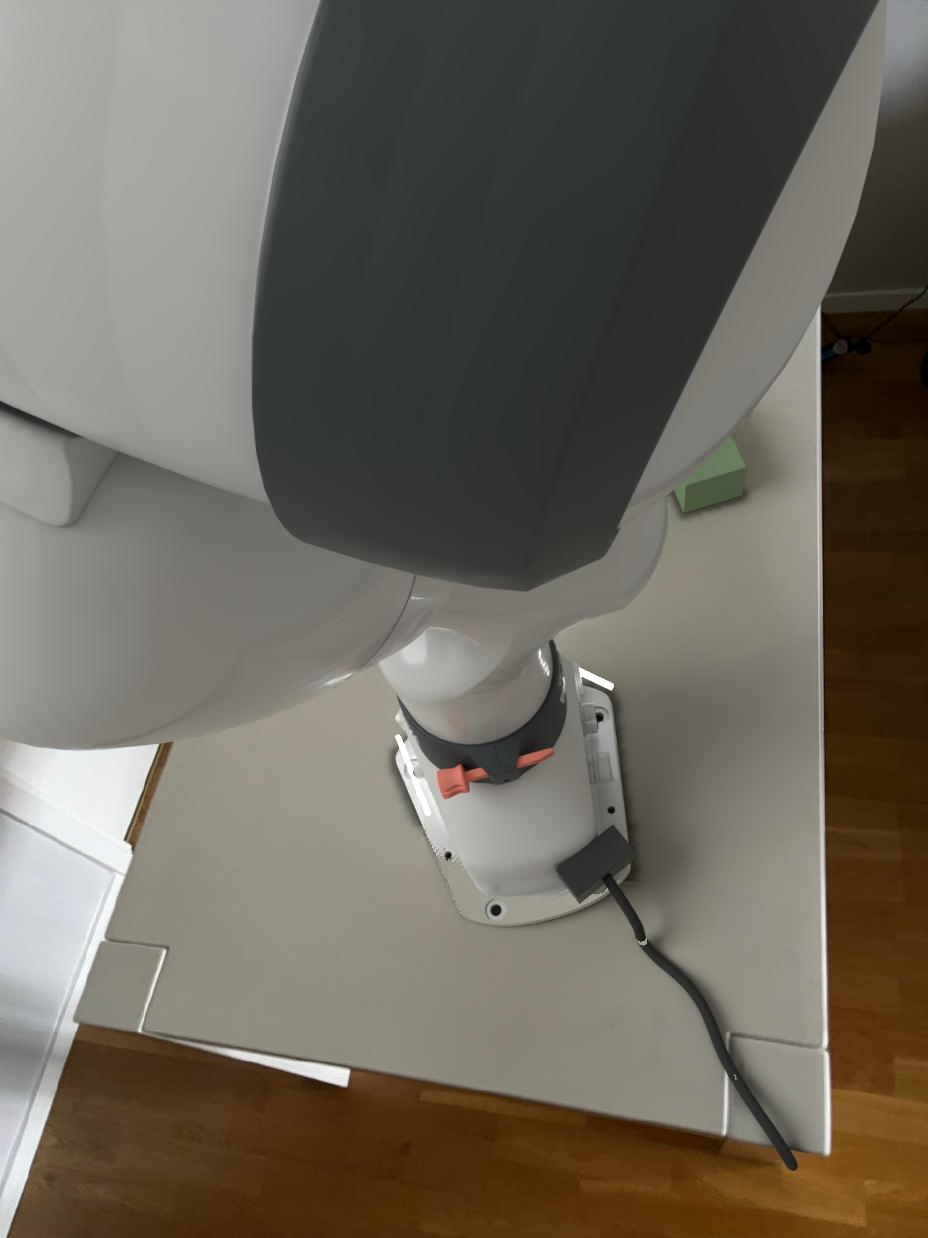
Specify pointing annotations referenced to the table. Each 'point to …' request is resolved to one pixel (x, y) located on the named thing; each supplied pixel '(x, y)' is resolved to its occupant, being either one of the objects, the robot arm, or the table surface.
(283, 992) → the table surface
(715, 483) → the green block
